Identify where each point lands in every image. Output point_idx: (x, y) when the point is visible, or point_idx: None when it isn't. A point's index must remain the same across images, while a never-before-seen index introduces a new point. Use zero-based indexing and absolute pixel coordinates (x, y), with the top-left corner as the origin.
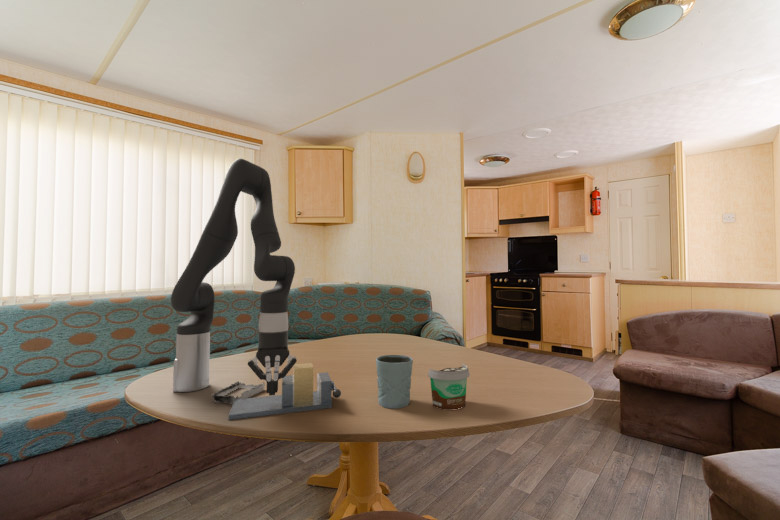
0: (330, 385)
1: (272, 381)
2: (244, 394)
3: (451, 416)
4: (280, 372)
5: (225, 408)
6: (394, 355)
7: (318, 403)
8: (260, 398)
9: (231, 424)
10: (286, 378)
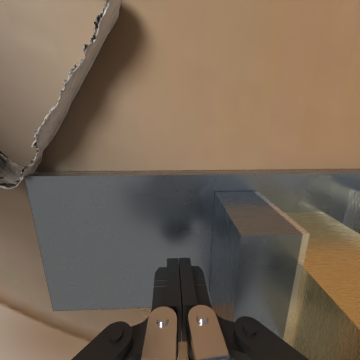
0: None
1: (182, 340)
2: (46, 128)
3: None
4: (236, 353)
5: (14, 205)
6: None
7: None
8: (129, 194)
9: (78, 322)
10: (258, 291)
